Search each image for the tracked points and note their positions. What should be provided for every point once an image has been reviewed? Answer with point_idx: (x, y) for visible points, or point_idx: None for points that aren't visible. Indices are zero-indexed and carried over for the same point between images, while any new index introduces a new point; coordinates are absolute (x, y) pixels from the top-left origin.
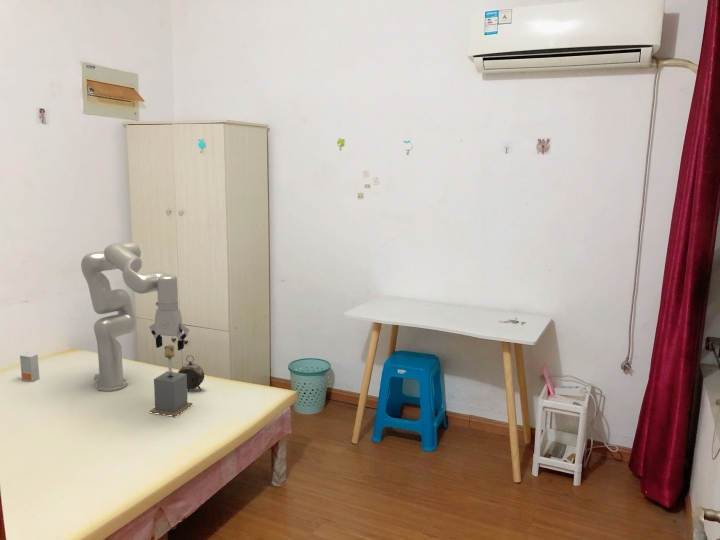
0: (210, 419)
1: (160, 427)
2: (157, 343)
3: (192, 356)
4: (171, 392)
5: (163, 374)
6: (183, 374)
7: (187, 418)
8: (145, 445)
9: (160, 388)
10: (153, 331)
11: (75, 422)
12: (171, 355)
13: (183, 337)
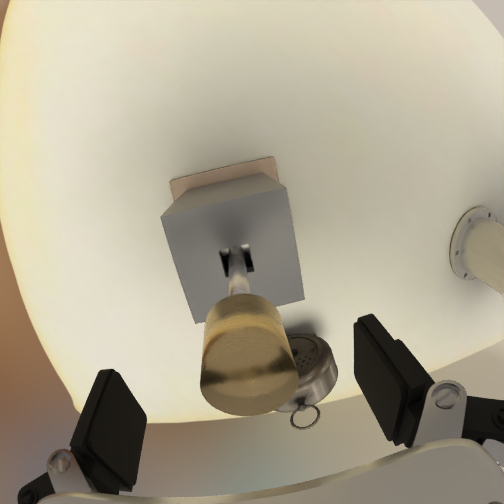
0: (82, 231)
1: (160, 104)
2: (378, 348)
3: (297, 428)
4: (185, 201)
5: (290, 261)
6: (202, 312)
7: (137, 196)
8: (120, 21)
9: (242, 188)
10: (502, 431)
11: (398, 30)
12: (206, 326)
13: (40, 482)
